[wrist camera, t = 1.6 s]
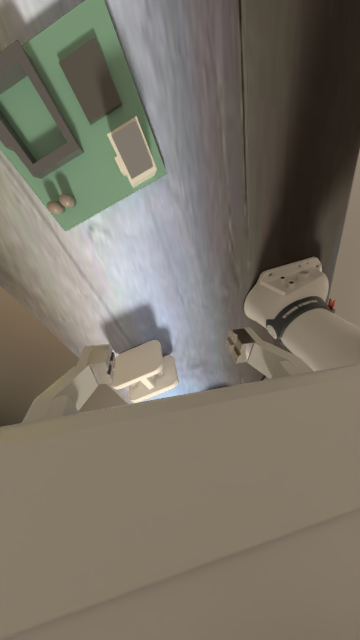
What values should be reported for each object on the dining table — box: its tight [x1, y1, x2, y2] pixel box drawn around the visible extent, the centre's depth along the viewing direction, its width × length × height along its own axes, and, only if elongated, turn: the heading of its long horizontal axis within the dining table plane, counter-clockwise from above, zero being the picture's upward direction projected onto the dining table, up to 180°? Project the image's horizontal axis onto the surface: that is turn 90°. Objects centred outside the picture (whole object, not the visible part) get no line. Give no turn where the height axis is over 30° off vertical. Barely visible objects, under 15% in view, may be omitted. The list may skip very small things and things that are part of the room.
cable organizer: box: [110, 340, 179, 403], centre depth 47 cm, size 15×11×12 cm
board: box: [0, 0, 166, 231], centre depth 23 cm, size 20×16×4 cm
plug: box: [107, 116, 157, 188], centre depth 23 cm, size 4×5×7 cm
